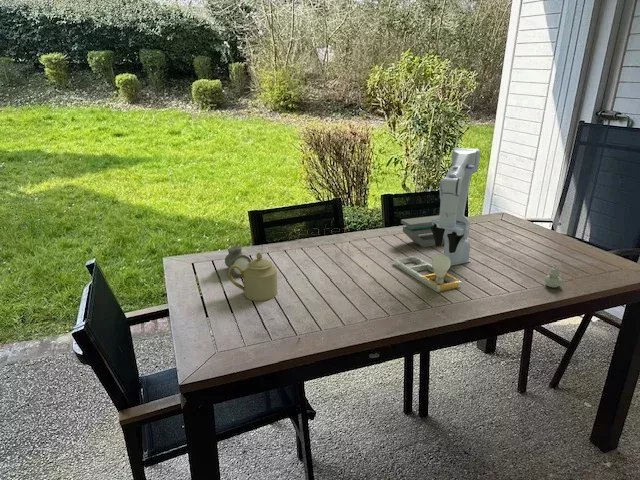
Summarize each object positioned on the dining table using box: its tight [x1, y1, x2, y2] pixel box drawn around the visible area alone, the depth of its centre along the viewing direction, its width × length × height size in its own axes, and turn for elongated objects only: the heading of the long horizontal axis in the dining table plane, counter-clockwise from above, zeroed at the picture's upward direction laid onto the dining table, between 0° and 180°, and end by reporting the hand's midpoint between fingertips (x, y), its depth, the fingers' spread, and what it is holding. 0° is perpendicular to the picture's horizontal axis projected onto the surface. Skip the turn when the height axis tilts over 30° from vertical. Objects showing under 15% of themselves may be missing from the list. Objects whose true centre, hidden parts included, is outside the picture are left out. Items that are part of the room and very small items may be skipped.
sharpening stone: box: [400, 214, 445, 248], centre depth 195 cm, size 25×8×11 cm, turn 109°
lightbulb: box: [431, 253, 452, 285], centre depth 153 cm, size 6×6×11 cm
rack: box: [393, 255, 462, 293], centre depth 162 cm, size 10×27×2 cm, turn 23°
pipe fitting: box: [224, 245, 252, 278], centre depth 167 cm, size 12×8×10 cm, turn 29°
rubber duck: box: [544, 265, 564, 289], centre depth 151 cm, size 5×7×8 cm
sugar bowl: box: [227, 252, 278, 302], centre depth 146 cm, size 15×11×15 cm
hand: (445, 248), depth 159 cm, fingers open, 7 cm apart
